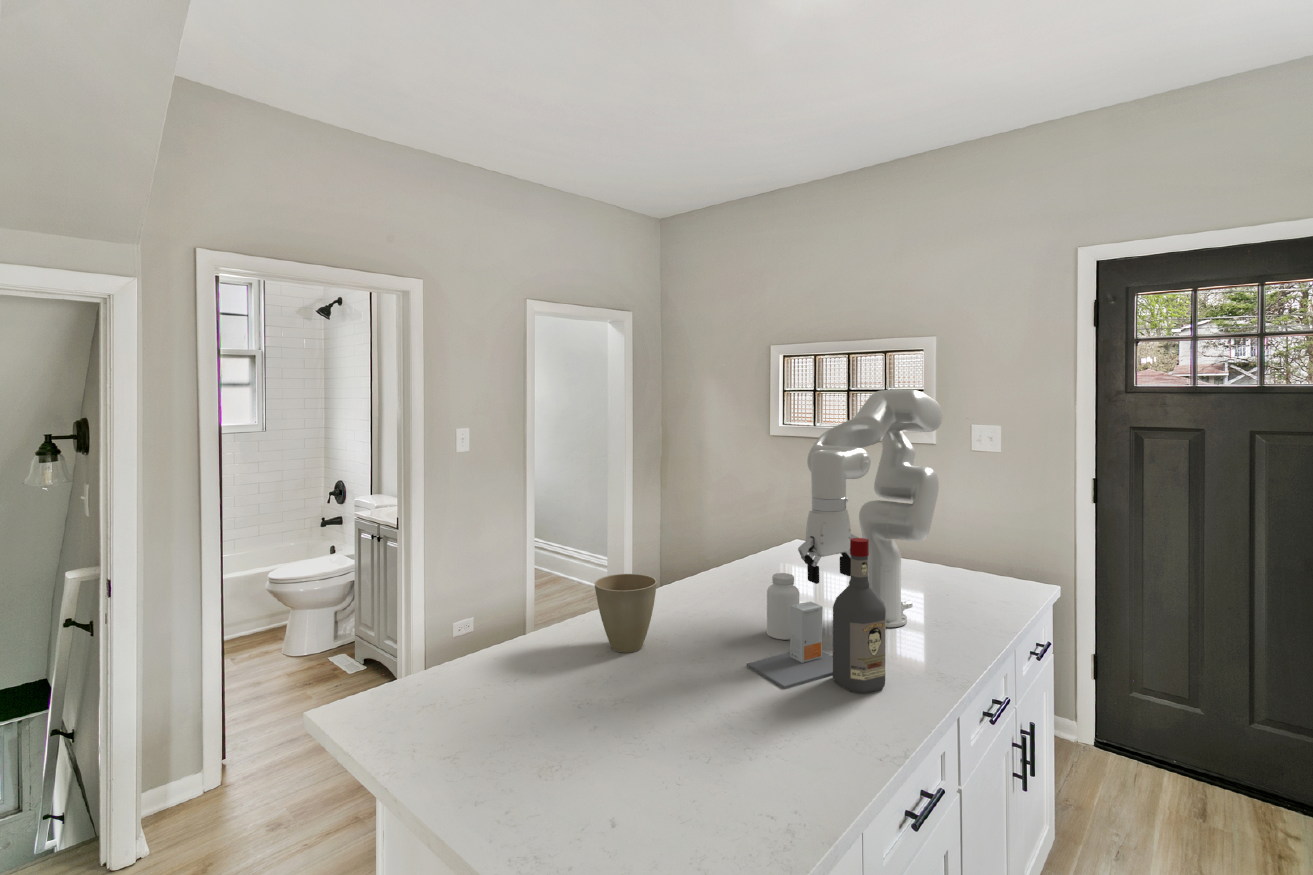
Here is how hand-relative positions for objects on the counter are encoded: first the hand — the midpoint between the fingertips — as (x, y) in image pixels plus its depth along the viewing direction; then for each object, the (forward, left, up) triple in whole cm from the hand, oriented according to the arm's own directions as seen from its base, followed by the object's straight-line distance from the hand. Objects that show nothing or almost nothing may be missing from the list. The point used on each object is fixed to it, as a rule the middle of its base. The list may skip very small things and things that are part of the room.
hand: (829, 578), depth 146 cm
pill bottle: (+1, -15, -18) cm, 23 cm away
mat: (+11, +2, -18) cm, 21 cm away
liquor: (+6, +14, -18) cm, 24 cm away
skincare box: (+7, 0, -17) cm, 19 cm away
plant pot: (+38, -28, -18) cm, 51 cm away
